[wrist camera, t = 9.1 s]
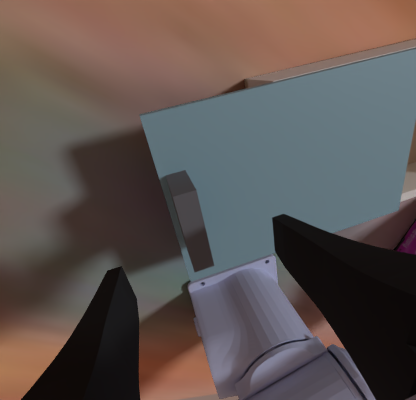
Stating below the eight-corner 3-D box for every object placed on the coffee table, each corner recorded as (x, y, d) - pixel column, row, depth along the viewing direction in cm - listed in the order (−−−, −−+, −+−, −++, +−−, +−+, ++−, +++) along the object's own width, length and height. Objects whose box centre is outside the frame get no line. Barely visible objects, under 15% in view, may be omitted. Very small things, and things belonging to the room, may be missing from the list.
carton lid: (189, 276, 20) (200, 314, 17) (139, 114, 14) (141, 126, 11) (392, 207, 22) (435, 229, 19) (420, 46, 17) (487, 40, 13)
